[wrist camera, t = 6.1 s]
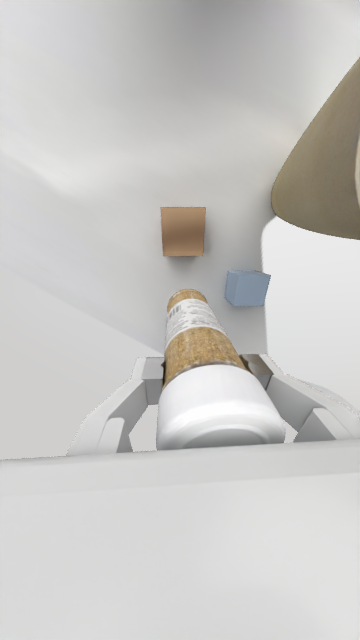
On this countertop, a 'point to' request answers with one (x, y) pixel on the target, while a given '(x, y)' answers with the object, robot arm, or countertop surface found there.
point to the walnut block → (183, 230)
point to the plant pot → (325, 168)
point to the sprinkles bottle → (209, 385)
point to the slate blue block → (246, 288)
